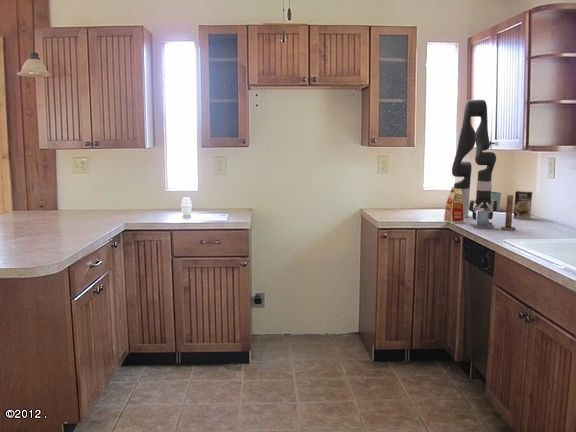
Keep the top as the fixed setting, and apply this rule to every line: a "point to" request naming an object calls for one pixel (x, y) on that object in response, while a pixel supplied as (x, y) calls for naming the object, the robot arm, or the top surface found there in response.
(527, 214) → the coffee box
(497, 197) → the drinking glass
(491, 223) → the post
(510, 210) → the post
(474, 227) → the mat
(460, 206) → the milk carton
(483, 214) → the pale blue egg shape
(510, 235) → the top surface
